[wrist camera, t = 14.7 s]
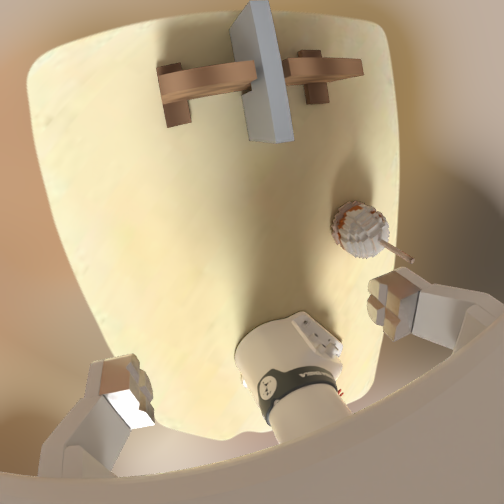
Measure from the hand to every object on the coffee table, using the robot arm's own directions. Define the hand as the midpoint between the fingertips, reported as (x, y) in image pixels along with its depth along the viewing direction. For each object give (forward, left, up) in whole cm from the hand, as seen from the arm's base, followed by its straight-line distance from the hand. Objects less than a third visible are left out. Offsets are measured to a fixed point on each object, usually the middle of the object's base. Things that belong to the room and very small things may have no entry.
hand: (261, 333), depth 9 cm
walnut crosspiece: (+1, -15, -31) cm, 35 cm away
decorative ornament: (-25, -8, -31) cm, 41 cm away
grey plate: (+1, -15, -31) cm, 35 cm away
